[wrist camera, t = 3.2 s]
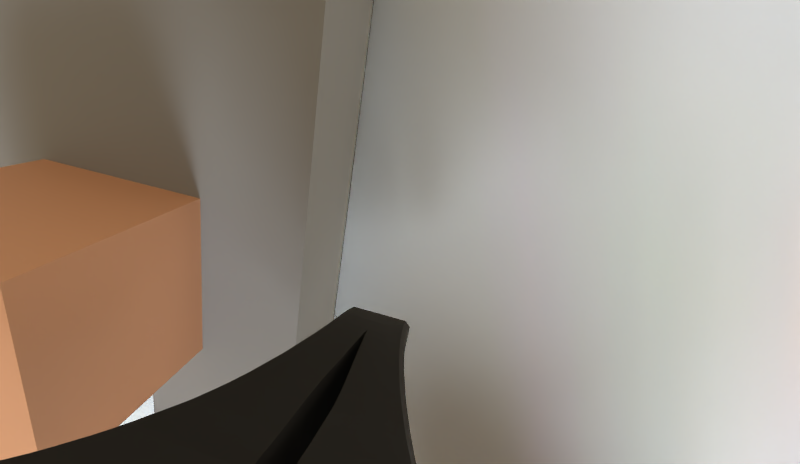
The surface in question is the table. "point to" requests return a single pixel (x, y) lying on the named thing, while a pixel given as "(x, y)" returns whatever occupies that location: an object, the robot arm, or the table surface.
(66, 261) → the block
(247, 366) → the board
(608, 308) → the table surface
